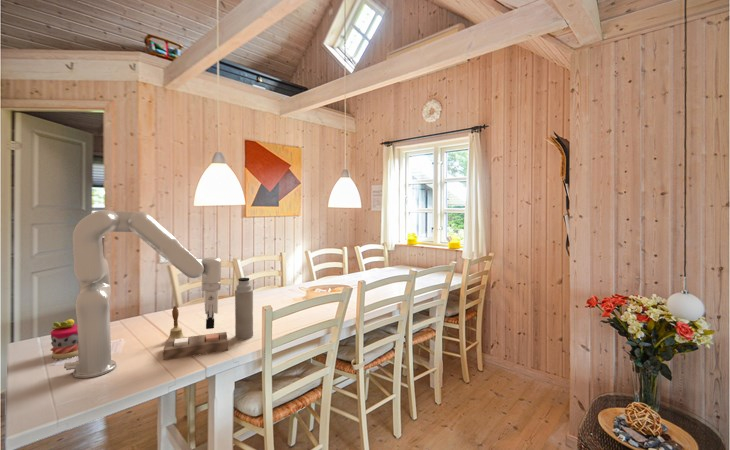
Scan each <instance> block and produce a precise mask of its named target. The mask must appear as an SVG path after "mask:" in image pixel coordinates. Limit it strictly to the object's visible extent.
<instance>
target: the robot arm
mask: <svg viewBox="0 0 730 450" xmlns="http://www.w3.org/2000/svg"><path fill="white" fill-rule="evenodd" d="M110 232H112V233H114V232H115V233H116V232H118V233H133V234H135V236H137V237H138V238H139V239H141V240H142V241H143V242H144V243H146V244H147V245H148V246H149V247H150V248H152V249H153V250H154V251H155V252H156V253H158V255H160V256H161V257H162V258H164V259H165V260H166V261H168V262H169V263H170V264H171V265H173V266H174V267H175V268H176V269H177V270H178V271H179V272H181V273H182V274H183V275H185V276H186V277H187V278H189V279H197V278H199V277H201V291H203V292H204V298H203V299H204V313H205V315H206V318H205V329H206V330H211V329H215V314H218V313H219V312H218V311H219V310H218V309H219V308H218V307H219V291H220V290H221V289H222V288H221V283H222V282H221V280H222V260H221V258H219V257H202V258H201V257H196V256H195V255H193V254H192V253H191V252H190V251H189V250H187V249H186V247H184V246H183V245H182V243H180V241H179V240H178V239H177V238H176V237H175V236H174V235H172V233H171V232H169V231H168V230H167V229H166V228H164V226H163V225H161V223H159V222H158V221H157V220H156V219H154V218H153V217H152V215H150V214H149V213H147V212H144V211H127V210H126V211H124V210H109V209H101V210H97V211H94V212H92V213H90V214H88V215H85V216H84V217H83V218H82V219H80V220H79V221H78V223H77V224H76V225H75V228H74V229H73V233H72V245H73V246H72V249H73V251H72V252H73V261H74V275H75V278H76V279H77V280H78V282H79V291H80V292H79V293H78V295H77V297H76V300H75V313H76V325H77V332H78V356H77V357H78V358H77V359H78V360H76V361H74V362H72V361H70V362H65V363H64V364H63V365H64V366H63V369H65V370H66V371H70V370H71V371H72V370H73V373H72V374H73V377H74V378H77V379H87V378H88V379H89V378H90V379H91V378H95V377H98V376H102V375H105V374H107V373H109V372H111V371H113V370H114V369H115V368H116V367H117V362H116V360H112V346H111V344H112V342H111V341H112V340H111V339H112V337H111V314H110V313H111V312H110V302H111V301H110V299H111V295H112V287H111V278H110V276H111V275H110V266H109V262H108V260H107V258H105V257H104V244H103V239H104V235H105V234H108V233H110Z"/></svg>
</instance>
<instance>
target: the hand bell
mask: <svg viewBox="0 0 730 450" xmlns="http://www.w3.org/2000/svg"><path fill="white" fill-rule="evenodd" d="M171 315H172V319H173V327H172V328H171V329H170V332H169V336H168V338H167V339H166V340H168V339H176V338H183V337H186V336H185V335H184V334H183V331H182V327H181V326H179V323H178V321H179V320H178V318H179V309H178V307H177V305H174V306H173V308H172V312H171Z"/></svg>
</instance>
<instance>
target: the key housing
mask: <svg viewBox="0 0 730 450" xmlns="http://www.w3.org/2000/svg"><path fill="white" fill-rule="evenodd" d="M210 334H211V333H209V334H201V335H192V336H185V337H183V338H187V337H188V344H186V345H179V346H174V341H175V339H168V338H167V339H168V340H167V339H166V341H165V343H164V347H163V351H162V355H163V356H162V357H163V361H167V360H173V359H180V358H186V357H194V356H199V354H201V355H206V353H208V354H212V353H213V352H214V353H219V352H220V351H221V352H227V351H229V349H228V347H229V345H228V344H229V340H228V335H227V334H228V333H227V331H224V332H214V333H213V334H218V335H219V340H215V341H208V342H206V335H210ZM176 339H179V338H176ZM221 352H220V353H221ZM193 355H194V356H193Z"/></svg>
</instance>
